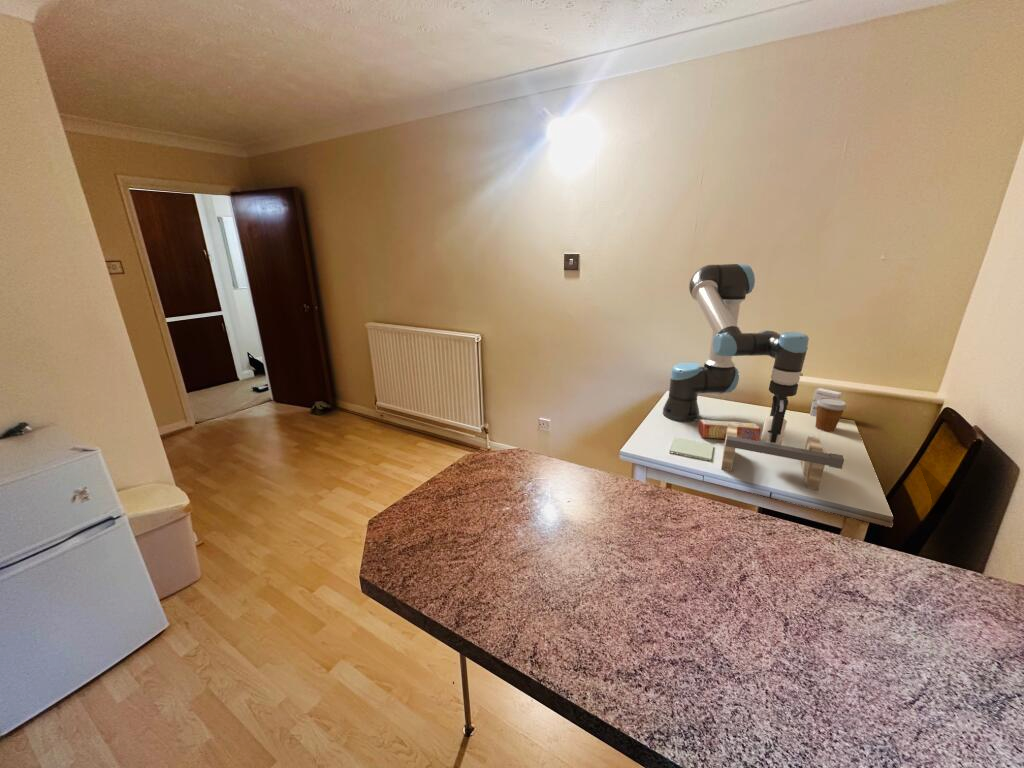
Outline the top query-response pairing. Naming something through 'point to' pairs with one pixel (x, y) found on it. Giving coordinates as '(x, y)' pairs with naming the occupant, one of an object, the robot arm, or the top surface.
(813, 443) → the rails
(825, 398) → the disposable coffee cup
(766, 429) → the cream rounded wedge
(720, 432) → the snack package
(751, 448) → the grey long bar
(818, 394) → the ink box
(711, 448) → the pad
